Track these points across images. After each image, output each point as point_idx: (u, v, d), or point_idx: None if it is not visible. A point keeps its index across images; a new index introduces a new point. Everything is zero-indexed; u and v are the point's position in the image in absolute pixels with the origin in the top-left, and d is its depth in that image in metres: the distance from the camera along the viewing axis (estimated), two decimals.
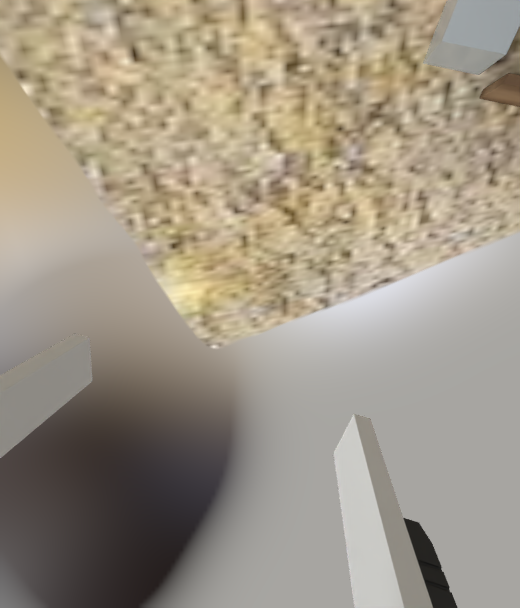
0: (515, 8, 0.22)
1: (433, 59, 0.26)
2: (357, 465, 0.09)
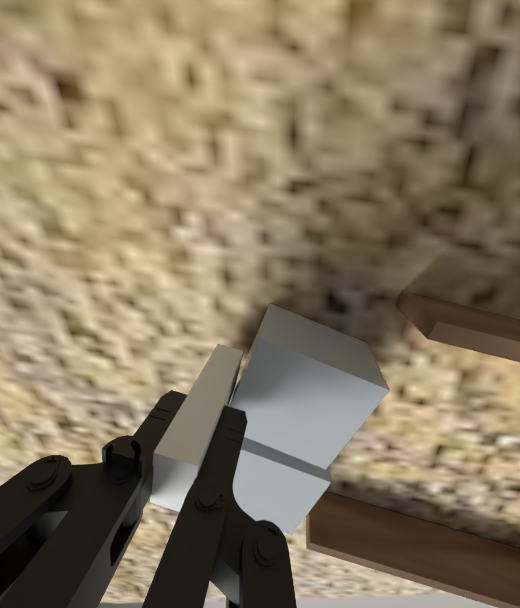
0: (294, 505, 0.14)
1: None
2: None
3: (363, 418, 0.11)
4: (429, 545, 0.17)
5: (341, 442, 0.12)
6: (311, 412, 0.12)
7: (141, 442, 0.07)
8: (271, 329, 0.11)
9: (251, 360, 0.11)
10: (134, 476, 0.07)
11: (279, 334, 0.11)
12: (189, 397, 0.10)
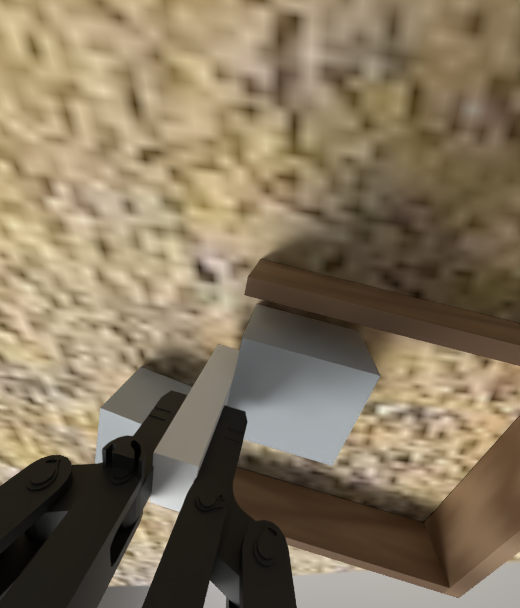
0: None
1: None
2: None
3: (359, 408, 0.11)
4: (324, 516, 0.18)
5: (342, 435, 0.12)
6: (306, 407, 0.11)
7: (141, 442, 0.07)
8: (255, 328, 0.11)
9: (238, 361, 0.11)
10: (134, 476, 0.07)
11: (263, 332, 0.11)
12: (189, 397, 0.10)
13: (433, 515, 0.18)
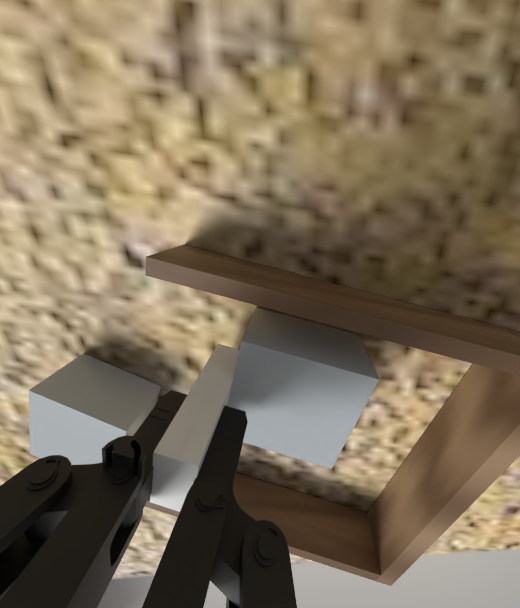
0: None
1: None
2: None
3: (358, 411, 0.11)
4: (265, 505, 0.18)
5: (341, 438, 0.12)
6: (305, 410, 0.11)
7: (141, 442, 0.07)
8: (254, 331, 0.11)
9: (237, 364, 0.11)
10: (134, 476, 0.07)
11: (262, 335, 0.11)
12: (189, 397, 0.10)
13: (374, 505, 0.18)
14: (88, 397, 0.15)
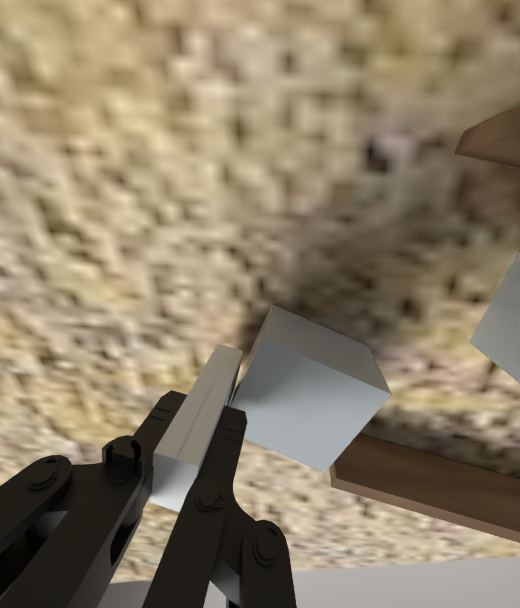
0: (335, 429, 0.12)
1: None
2: None
3: None
4: (476, 488, 0.15)
5: None
6: None
7: (141, 442, 0.07)
8: None
9: None
10: (134, 476, 0.07)
11: None
12: (189, 397, 0.10)
13: None
14: (321, 351, 0.11)
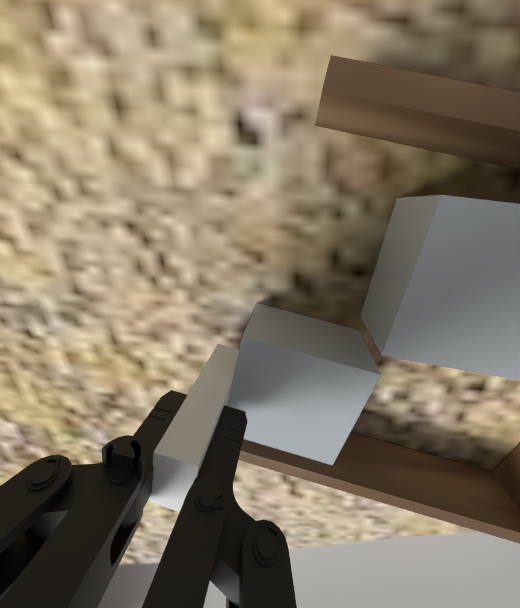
0: (333, 418, 0.11)
1: None
2: None
3: None
4: (378, 460, 0.15)
5: None
6: None
7: (141, 442, 0.07)
8: None
9: (427, 237, 0.08)
10: (134, 476, 0.07)
11: None
12: (189, 397, 0.10)
13: (506, 460, 0.15)
14: (305, 342, 0.11)
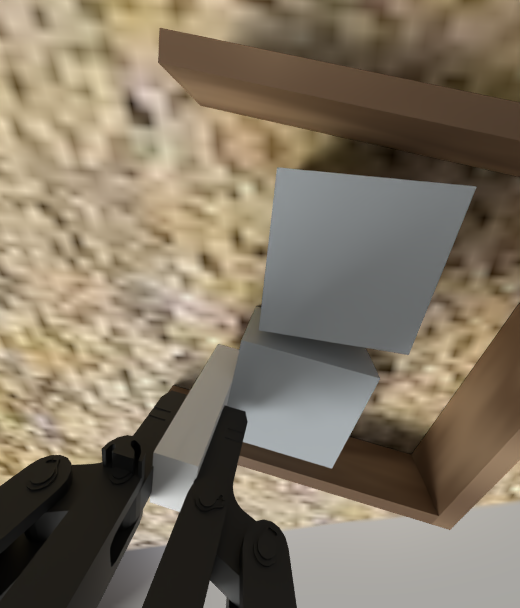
0: (332, 422, 0.11)
1: None
2: None
3: (446, 250, 0.08)
4: None
5: (422, 302, 0.09)
6: (370, 265, 0.09)
7: (141, 442, 0.07)
8: None
9: (274, 210, 0.08)
10: (134, 476, 0.07)
11: None
12: (189, 397, 0.10)
13: (422, 443, 0.16)
14: (305, 345, 0.11)
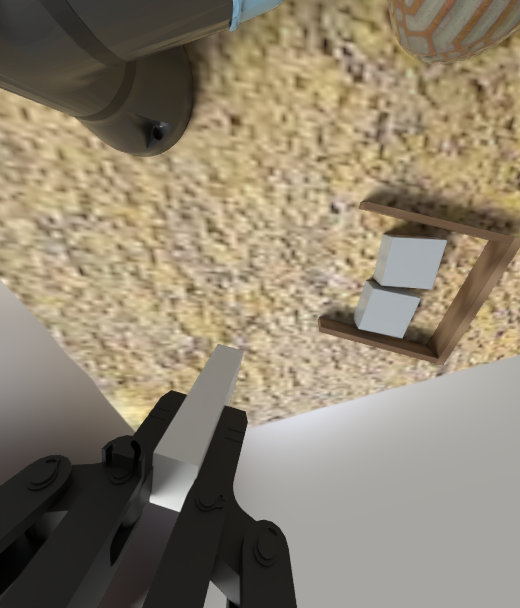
0: (403, 317, 0.32)
1: None
2: None
3: (440, 256, 0.29)
4: (378, 336, 0.36)
5: (435, 271, 0.30)
6: (419, 262, 0.29)
7: (141, 442, 0.07)
8: (393, 236, 0.30)
9: (390, 248, 0.29)
10: (134, 476, 0.07)
11: (397, 236, 0.30)
12: (189, 397, 0.10)
13: (431, 338, 0.37)
14: (392, 290, 0.32)
